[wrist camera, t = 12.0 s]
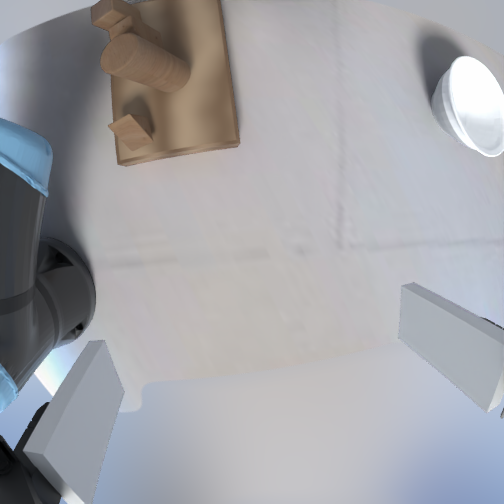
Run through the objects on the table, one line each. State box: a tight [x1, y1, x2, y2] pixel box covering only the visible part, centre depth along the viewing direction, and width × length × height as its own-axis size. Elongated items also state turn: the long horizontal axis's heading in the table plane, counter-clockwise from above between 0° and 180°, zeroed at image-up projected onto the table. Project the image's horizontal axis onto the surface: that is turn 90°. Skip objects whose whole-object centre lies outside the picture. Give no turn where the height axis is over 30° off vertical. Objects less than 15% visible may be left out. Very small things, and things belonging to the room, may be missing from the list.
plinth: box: [111, 0, 240, 166], centre depth 31 cm, size 14×22×4 cm, turn 8°
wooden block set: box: [91, 0, 191, 151], centre depth 24 cm, size 18×9×10 cm, turn 15°
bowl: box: [431, 56, 504, 157], centre depth 34 cm, size 16×16×8 cm
